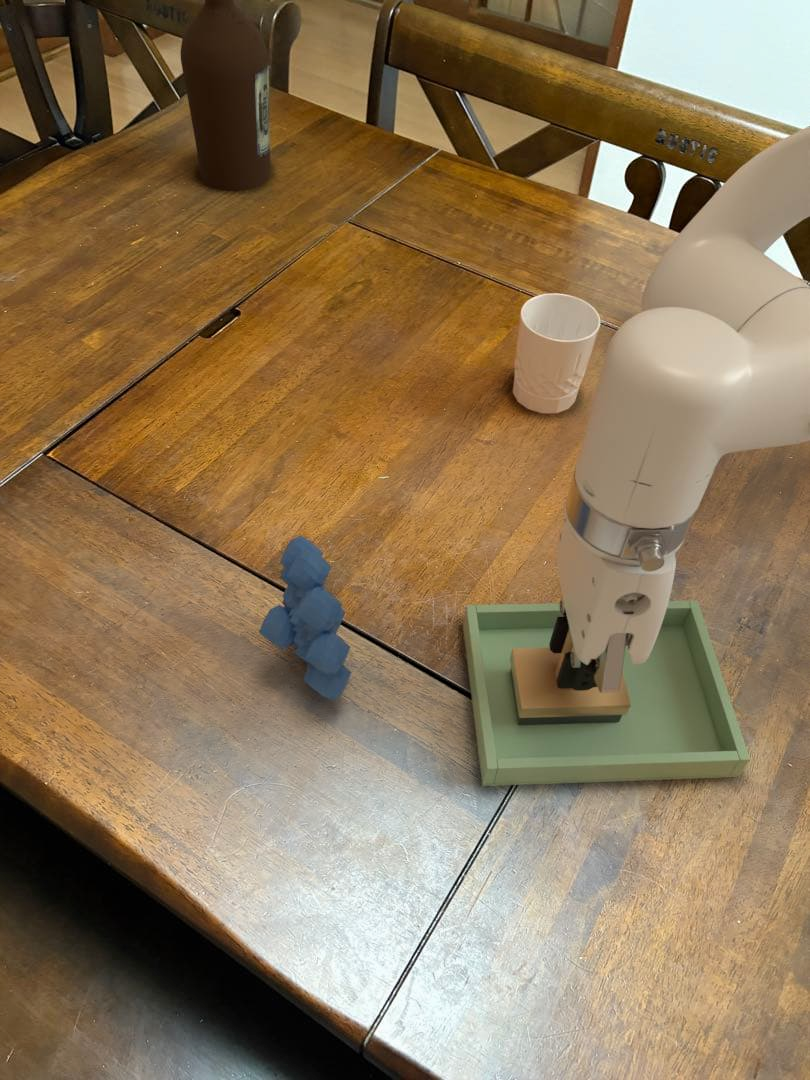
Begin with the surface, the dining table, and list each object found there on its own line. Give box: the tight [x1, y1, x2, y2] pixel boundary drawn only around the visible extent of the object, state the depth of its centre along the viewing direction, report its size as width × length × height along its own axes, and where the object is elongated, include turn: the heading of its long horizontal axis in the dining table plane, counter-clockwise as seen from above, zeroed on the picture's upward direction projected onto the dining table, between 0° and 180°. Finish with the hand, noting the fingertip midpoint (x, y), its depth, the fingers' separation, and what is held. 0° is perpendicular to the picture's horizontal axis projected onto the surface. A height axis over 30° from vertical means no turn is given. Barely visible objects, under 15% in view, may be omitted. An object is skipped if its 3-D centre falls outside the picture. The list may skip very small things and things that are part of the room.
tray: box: [462, 599, 751, 787], centre depth 72 cm, size 20×15×3 cm
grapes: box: [259, 535, 352, 701], centre depth 70 cm, size 12×7×12 cm, turn 18°
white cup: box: [512, 292, 601, 414], centre depth 94 cm, size 8×8×10 cm
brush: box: [510, 628, 631, 725], centre depth 69 cm, size 8×5×10 cm, turn 93°
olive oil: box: [180, 0, 272, 192], centre depth 114 cm, size 11×11×25 cm
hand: (573, 665), depth 69 cm, fingers closed on brush, 2 cm apart
